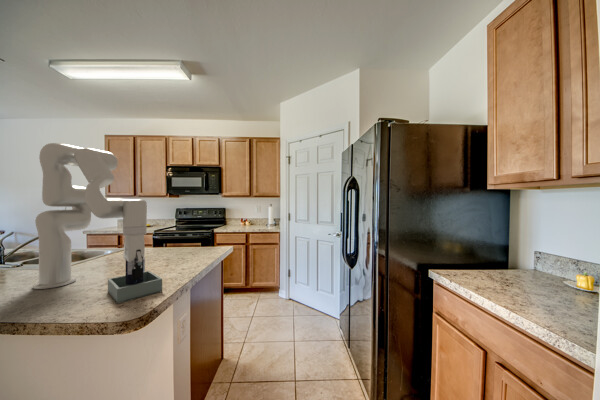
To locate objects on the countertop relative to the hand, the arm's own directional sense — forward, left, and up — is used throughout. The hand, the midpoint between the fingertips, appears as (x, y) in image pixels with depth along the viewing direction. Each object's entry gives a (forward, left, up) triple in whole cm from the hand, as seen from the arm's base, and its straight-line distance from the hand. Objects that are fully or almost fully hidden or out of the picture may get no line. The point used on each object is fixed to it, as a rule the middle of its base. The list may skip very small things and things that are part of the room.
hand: (134, 276), depth 90 cm
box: (0, 0, -6) cm, 6 cm away
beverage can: (0, 0, -3) cm, 3 cm away
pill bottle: (-22, +6, -6) cm, 23 cm away
